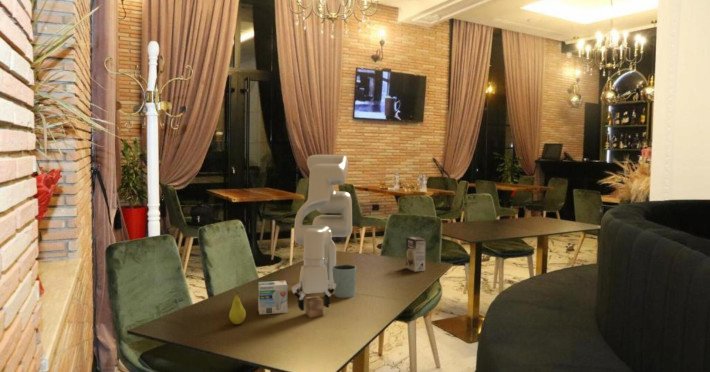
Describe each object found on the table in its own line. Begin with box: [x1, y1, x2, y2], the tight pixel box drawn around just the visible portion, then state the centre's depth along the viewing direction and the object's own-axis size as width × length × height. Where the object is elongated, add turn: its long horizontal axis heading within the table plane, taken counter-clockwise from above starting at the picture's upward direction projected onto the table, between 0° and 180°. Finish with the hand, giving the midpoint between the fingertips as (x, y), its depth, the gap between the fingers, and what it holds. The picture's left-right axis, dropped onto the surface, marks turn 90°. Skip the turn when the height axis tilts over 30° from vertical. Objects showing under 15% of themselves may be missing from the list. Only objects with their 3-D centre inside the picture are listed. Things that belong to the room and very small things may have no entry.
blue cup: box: [332, 263, 357, 299], centre depth 215 cm, size 10×10×12 cm
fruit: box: [228, 291, 247, 325], centre depth 179 cm, size 6×6×12 cm
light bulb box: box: [257, 280, 288, 315], centre depth 194 cm, size 11×7×11 cm, turn 105°
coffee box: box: [405, 236, 427, 272], centre depth 261 cm, size 9×6×16 cm
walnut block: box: [305, 295, 324, 318], centre depth 190 cm, size 5×5×6 cm
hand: (314, 308), depth 190 cm, fingers open, 9 cm apart
